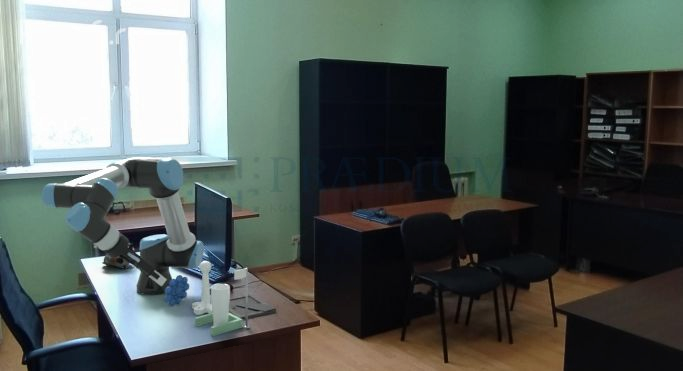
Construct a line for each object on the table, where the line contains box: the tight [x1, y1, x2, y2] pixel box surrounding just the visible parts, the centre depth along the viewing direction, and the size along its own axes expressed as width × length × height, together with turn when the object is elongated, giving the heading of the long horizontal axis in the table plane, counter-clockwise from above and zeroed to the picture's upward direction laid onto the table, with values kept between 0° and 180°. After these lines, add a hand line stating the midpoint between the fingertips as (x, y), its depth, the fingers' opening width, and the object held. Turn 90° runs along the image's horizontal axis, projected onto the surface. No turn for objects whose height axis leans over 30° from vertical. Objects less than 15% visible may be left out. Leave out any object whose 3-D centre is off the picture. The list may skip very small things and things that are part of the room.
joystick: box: [191, 260, 212, 316], centre depth 222 cm, size 11×8×20 cm
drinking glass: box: [210, 283, 231, 327], centre depth 209 cm, size 7×7×15 cm
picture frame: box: [229, 293, 277, 320], centre depth 229 cm, size 16×2×21 cm
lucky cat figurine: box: [102, 242, 135, 270], centre depth 278 cm, size 15×12×14 cm
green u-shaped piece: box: [194, 313, 243, 337], centre depth 210 cm, size 12×12×3 cm
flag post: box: [233, 267, 251, 330], centre depth 207 cm, size 2×6×22 cm, turn 133°
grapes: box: [164, 274, 190, 307], centre depth 230 cm, size 12×7×12 cm, turn 143°
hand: (163, 282), depth 193 cm, fingers closed
